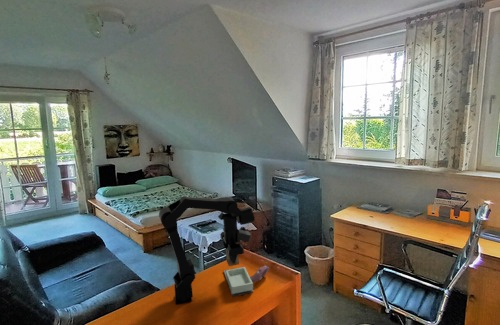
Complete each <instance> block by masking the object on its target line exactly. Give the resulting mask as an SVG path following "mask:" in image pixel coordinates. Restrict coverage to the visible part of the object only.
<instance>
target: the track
mask: <svg viewBox="0 0 500 325" xmlns="http://www.w3.org/2000/svg"><path fill="white" fill-rule="evenodd" d="M237 268H238V267H236V268H234V269H237ZM239 268H242V266H241V267H239ZM231 269H232V268H230V269H229V268H228V270H231ZM226 270H227V269H224V270H223V274H224V276H225V277H224V278H225V279H226V283H227V286H228V288H229V290H230V293H231V294H230V295H231V296H232V298H233V297H238V296H242V295H247V294H252V293H254V289H253V290H250V291H245V292H240V293H235V294H232V292H231V289H230V286H229V283H228V281H227V278H226Z"/></svg>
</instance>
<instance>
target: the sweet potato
mask: <svg viewBox="0 0 500 325" xmlns="http://www.w3.org/2000/svg"><path fill="white" fill-rule="evenodd" d="M269 270H270V267H269V266H267V265H263V266H261V267H259V268H258V269H257V270H256V272H255V273H254V274H253V275H251V276H250V278H251V280H252V282H253V283H255V282H260V281H261V280H262V278H264V277H266V275H267V273H268V272H269Z"/></svg>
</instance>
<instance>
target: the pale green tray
mask: <svg viewBox="0 0 500 325" xmlns="http://www.w3.org/2000/svg"><path fill="white" fill-rule="evenodd" d="M241 267H242V266H241ZM236 268H237V269H235V268H230V269H231V270H229V269H225V270H226V277H225V279H226V278H227V280H226V282H227V281H228V283H229V286H230V289H231V292H232V294H235V293H240V292H245V291H250V290H253V291H254V282H252V280H251V278H250V277H251V276H250V275H249V273H248V270H247V268H246V267H245V266H243V267H242V268H240V267H236ZM228 283H227V284H228ZM229 286H228V287H229ZM230 289H229V290H230ZM231 292H230V293H231ZM232 294H231V295H232Z"/></svg>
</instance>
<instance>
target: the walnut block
mask: <svg viewBox="0 0 500 325" xmlns="http://www.w3.org/2000/svg"><path fill="white" fill-rule="evenodd" d="M226 250H227V249H225V258H226V263H227V265H228V267H233V266H237V265H240V260H239V259H240V258H239V257H240V256H239V255H240V254H239V255H237V258H236V262H235V263H234V264H233V263H232V261H231V259H230V257H229V255H228V253H227V251H226Z"/></svg>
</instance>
